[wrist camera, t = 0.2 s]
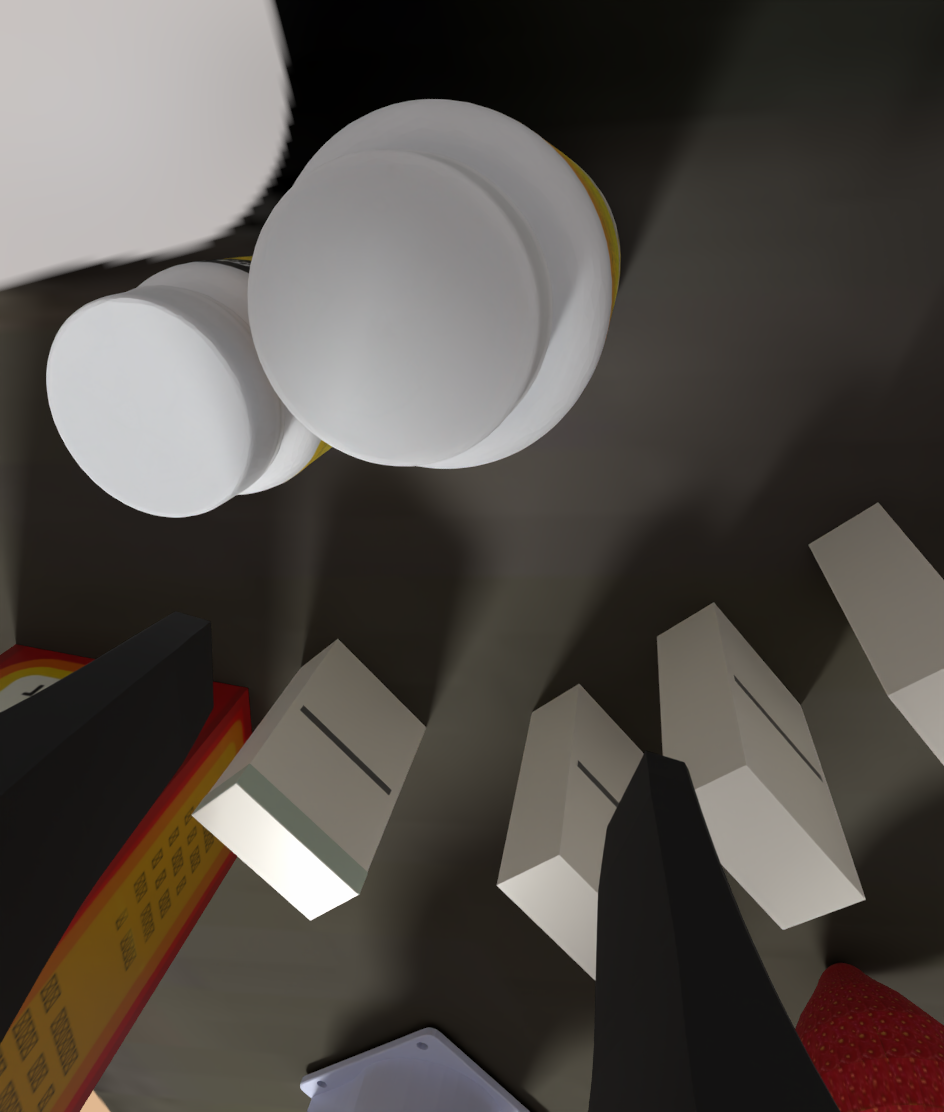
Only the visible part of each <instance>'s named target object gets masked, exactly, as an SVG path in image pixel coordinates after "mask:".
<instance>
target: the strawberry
mask: <svg viewBox="0 0 944 1112" xmlns="http://www.w3.org/2000/svg"><path fill="white" fill-rule="evenodd" d="M795 1030H796V1032H797V1034H798V1036H799V1037H800V1039H801V1041H802V1043H803V1045H804V1047H805V1049H806V1051H807V1053H808V1054H809V1056H810V1058H811V1060H812V1062H813V1064H814V1065H815V1067H816V1069H817V1071H818V1073H819V1074H820V1076H821V1078H822V1080H823V1081H824V1083H825V1085H826V1087H827V1088H828V1090H829V1092H830V1094H831V1096H832V1097H833V1099H834V1101H835V1103H836V1104H837V1106H838V1108H839V1110H840V1111H841V1112H944V1025H942V1024H941V1023H939V1022H938V1021H937V1020H935V1019H934V1018H933V1017H931V1016H930V1015H929V1014H927V1013H926V1012H924V1011H923V1010H922V1009H920V1008H919V1007H918V1006H916V1005H915V1004H913V1003H912V1002H911V1001H909V1000H908V999H907V998H905V997H904V996H903V995H901V994H900V993H898V992H897V991H895V990H893V989H891V988H889V987H887V986H885V985H883V984H881V983H879V982H877V981H875V980H873V979H872V978H870V977H869V976H867V975H865V974H864V973H863V972H862V971H861V970H859V969H858V968H856V967H855V966H853V965H850V964H846V963H836V964H833V965H831V966H830V967H828V968H827V969H826V970H825V971H824V972H823V974H822V975H821V977H820V979H819V982H818V985H817V987H816V989H815V991H814V993H813V995H812V996H811V998H810V1000H809V1002H808V1003H807V1005H806V1007H805V1008H804V1010H803V1012H802V1014H801V1016H800V1018H799V1021H798V1024H797V1026H796V1029H795Z"/></svg>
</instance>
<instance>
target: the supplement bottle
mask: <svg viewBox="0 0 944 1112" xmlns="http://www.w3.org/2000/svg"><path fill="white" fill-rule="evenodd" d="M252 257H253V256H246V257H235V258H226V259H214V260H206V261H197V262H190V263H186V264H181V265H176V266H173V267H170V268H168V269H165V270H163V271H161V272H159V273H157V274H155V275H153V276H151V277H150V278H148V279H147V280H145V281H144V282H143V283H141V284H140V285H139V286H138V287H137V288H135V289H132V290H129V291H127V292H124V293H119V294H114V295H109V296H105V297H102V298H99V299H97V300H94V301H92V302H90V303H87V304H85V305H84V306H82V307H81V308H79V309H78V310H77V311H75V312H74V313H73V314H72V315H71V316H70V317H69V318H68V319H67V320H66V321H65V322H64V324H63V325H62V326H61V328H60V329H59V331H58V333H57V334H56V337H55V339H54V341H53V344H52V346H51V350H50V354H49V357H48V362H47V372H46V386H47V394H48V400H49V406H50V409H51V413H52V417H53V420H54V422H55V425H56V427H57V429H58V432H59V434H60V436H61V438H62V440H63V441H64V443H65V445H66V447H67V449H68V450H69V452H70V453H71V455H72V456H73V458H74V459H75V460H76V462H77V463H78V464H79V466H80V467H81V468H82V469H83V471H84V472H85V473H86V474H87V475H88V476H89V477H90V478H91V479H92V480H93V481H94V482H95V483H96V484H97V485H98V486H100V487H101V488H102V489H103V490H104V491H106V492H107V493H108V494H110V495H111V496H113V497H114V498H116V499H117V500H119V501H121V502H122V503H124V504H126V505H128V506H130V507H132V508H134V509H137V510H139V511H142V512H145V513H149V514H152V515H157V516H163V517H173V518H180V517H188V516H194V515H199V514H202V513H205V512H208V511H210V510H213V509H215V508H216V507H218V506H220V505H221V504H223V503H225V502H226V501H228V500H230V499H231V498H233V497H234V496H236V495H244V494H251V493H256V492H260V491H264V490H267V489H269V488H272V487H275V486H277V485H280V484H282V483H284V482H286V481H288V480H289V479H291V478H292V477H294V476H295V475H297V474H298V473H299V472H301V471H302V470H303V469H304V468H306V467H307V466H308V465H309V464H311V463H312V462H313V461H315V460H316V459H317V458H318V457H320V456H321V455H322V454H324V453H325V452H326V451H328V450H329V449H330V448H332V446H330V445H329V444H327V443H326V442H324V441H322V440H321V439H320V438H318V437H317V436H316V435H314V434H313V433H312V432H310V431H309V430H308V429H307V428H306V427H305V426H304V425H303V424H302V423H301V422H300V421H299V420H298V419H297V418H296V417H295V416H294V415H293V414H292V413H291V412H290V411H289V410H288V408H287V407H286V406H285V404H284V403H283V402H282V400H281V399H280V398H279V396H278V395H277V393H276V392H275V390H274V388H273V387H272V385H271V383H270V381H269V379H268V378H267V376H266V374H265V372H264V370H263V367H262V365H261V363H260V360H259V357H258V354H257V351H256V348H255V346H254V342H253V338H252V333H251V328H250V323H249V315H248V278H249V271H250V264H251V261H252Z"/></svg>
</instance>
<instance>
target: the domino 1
mask: <svg viewBox="0 0 944 1112" xmlns="http://www.w3.org/2000/svg"><path fill="white" fill-rule="evenodd" d="M643 755H644V753H643V752H642V751H641V750H640V749H639V748H638V747H637V746H636V745H635V744H634V742H633V741H632V740H631V739H630V738H629V737H628V736H627V735H626V734H625V733H624V732H623V731H622V729H621V728H620V727H619V726H618V725H617V724H616V723H615V722H614V721H613V720H612V719H611V718H610V716H609V715H608V714H607V713H606V712H605V711H604V710H603V709H602V708H601V707H600V706H599V705H598V703H597V702H596V701H595V700H594V699H593V698H592V697H591V696H590V695H589V694H588V693H587V691H586V690H585V689H584V688H583V687H582V686H581V685H580V684H578V685H576V686H574V687H573V688H571V689H570V690H568V691H566V692H565V693H563V694H561V695H560V696H558V697H556V698H555V699H553V700H551V701H550V702H548V703H547V704H545V705H543V706H542V707H540V708H538V709H537V710H535V711H533V712H532V715H531V720H530V725H529V730H528V734H527V739H526V744H525V749H524V754H523V759H522V764H521V769H520V774H519V778H518V783H517V788H516V793H515V798H514V803H513V808H512V813H511V818H510V822H509V827H508V832H507V837H506V842H505V847H504V852H503V857H502V862H501V866H500V871H499V876H498V881H497V886H498V887H499V888H500V889H501V890H502V891H503V892H504V893H505V894H506V895H507V896H508V897H509V898H510V899H511V900H512V901H513V902H514V903H515V904H516V905H517V906H518V907H520V908H521V909H522V910H523V911H524V912H525V913H526V914H527V915H528V916H529V917H530V918H531V919H532V920H533V921H534V922H535V923H536V924H537V925H538V926H539V927H540V928H541V929H542V930H543V931H544V932H545V933H546V934H547V935H548V936H549V937H551V938H552V939H553V940H554V941H555V942H556V943H557V944H558V945H559V946H560V947H561V948H562V949H563V950H564V951H565V952H566V953H567V954H568V955H569V956H570V957H571V958H572V959H573V960H574V961H575V962H576V963H577V964H578V965H579V966H581V967H582V968H583V969H584V970H585V971H586V972H587V973H588V974H589V975H590V976H591V977H592V978H593V979H594V980H595V981H596V944H597V908H598V888H599V880H600V872H601V865H602V858H603V851H604V844H605V837H606V830H607V826H608V824H609V822H610V820H611V818H612V816H613V814H614V812H615V810H616V808H617V806H618V804H619V802H620V800H621V798H622V796H623V794H624V792H625V790H626V788H627V786H628V784H629V783H630V781H631V779H632V777H633V775H634V773H635V771H636V769H637V767H638V765H639V763H640V761H641V759H642V757H643Z"/></svg>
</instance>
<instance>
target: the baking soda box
mask: <svg viewBox="0 0 944 1112" xmlns="http://www.w3.org/2000/svg"><path fill="white" fill-rule="evenodd" d="M93 660H95V659H91V658H86V657H81V656H75V655H70V654H65V653H59V652H54V651H49V650H43V649H38V648H33V647H27V646H22V645H17V644H16V645H14V646H13V647H11V648H10V649H8V650H7V651H6V652H4V653H3V654H1V655H0V712H2V711H4V710H6V709H8V708H10V707H12V706H13V705H15V704H17V703H19V702H21V701H23V700H25V699H27V698H29V697H30V696H32V695H34V694H36V693H38V692H40V691H41V690H43V689H45V688H47V687H49V686H50V685H52V684H54V683H55V682H57V681H59V680H61V679H62V678H64V677H66V676H68V675H69V674H71V673H73V672H74V671H76V670H78V669H80V668H81V667H83V666H85V665H87V664H88V663H90V662H92V661H93ZM213 700H214V708H213V710H212V712H211V713H210V715H209V717H208V719H207V721H206V723H205V725H204V726H203V728H202V730H201V732H200V734H199V736H198V738H197V739H196V741H195V743H194V745H193V746H192V748H191V750H190V752H189V753H188V755H187V757H186V759H185V760H184V762H183V764H182V765H181V766H180V768H179V769H178V771H177V772H176V773H175V775H174V776H173V778H172V779H171V780H170V782H169V783H168V785H167V786H166V787H165V789H164V790H163V792H162V793H161V794H160V796H159V797H158V799H157V800H156V801H155V803H154V804H153V806H152V807H151V808H150V810H149V811H148V812H147V814H146V815H145V817H144V818H143V819H142V821H141V822H140V823H139V825H138V826H137V828H136V829H135V830H134V832H133V833H132V834H131V836H130V837H129V839H128V840H127V841H126V843H125V844H124V845H123V847H122V848H121V850H120V851H119V852H118V854H117V855H116V856H115V858H114V859H113V861H112V862H111V863H110V865H109V866H108V867H107V869H106V870H105V872H104V873H103V874H102V876H101V877H100V878H99V880H98V881H97V883H96V884H95V886H94V887H93V889H92V890H91V892H90V893H89V895H88V896H87V898H86V899H85V901H84V902H83V904H82V905H81V906H80V908H79V910H78V911H77V913H76V915H75V916H74V918H73V920H72V921H71V923H70V925H69V926H68V928H67V930H66V931H65V933H64V935H63V936H62V938H61V940H60V941H59V943H58V945H57V946H56V948H55V950H54V951H53V953H52V955H51V956H50V958H49V960H48V962H47V963H46V965H45V967H44V968H43V970H42V972H41V973H40V975H39V977H38V979H37V980H36V982H35V984H34V986H33V987H32V989H31V991H30V993H29V995H28V996H27V998H26V1000H25V1002H24V1003H23V1005H22V1007H21V1009H20V1010H19V1012H18V1014H17V1016H16V1017H15V1019H14V1021H13V1023H12V1024H11V1026H10V1028H9V1030H8V1031H7V1033H6V1035H5V1037H4V1039H3V1041H2V1042H1V1044H0V1112H80V1110H81V1108H82V1107H83V1105H84V1104H85V1102H86V1100H87V1099H88V1097H89V1096H90V1094H91V1092H92V1091H93V1089H94V1088H95V1086H96V1084H97V1083H98V1081H99V1079H100V1078H101V1076H102V1075H103V1073H104V1071H105V1070H106V1068H107V1067H108V1065H109V1063H110V1062H111V1060H112V1058H113V1057H114V1055H115V1054H116V1052H117V1050H118V1049H119V1047H120V1046H121V1044H122V1042H123V1041H124V1039H125V1037H126V1036H127V1034H128V1033H129V1031H130V1029H131V1028H132V1026H133V1024H134V1023H135V1021H136V1020H137V1018H138V1016H139V1015H140V1013H141V1012H142V1010H143V1008H144V1007H145V1005H146V1003H147V1002H148V1000H149V999H150V997H151V995H152V994H153V992H154V991H155V989H156V987H157V986H158V984H159V982H160V981H161V979H162V978H163V976H164V974H165V973H166V971H167V969H168V968H169V966H170V965H171V963H172V961H173V960H174V958H175V957H176V955H177V953H178V952H179V950H180V948H181V947H182V945H183V944H184V942H185V940H186V939H187V937H188V936H189V934H190V932H191V931H192V929H193V927H194V926H195V924H196V923H197V921H198V919H199V918H200V916H201V914H202V913H203V911H204V910H205V908H206V906H207V905H208V903H209V902H210V900H211V898H212V897H213V895H214V893H215V892H216V890H217V889H218V887H219V885H220V884H221V882H222V881H223V879H224V877H225V876H226V874H227V872H228V871H229V869H230V868H231V866H232V864H233V863H234V861H235V859H236V858H237V855H236V854H235V853H233V852H232V851H231V850H230V849H229V848H228V847H227V846H226V845H224V844H223V843H222V842H221V841H220V840H219V839H218V838H217V837H215V836H214V835H213V834H212V833H211V832H210V831H209V830H207V829H206V828H205V827H204V826H203V825H202V824H201V823H200V822H198V821H197V820H196V819H195V818H194V817H193V816H192V815H191V814H192V813H193V812H194V810H195V809H196V808H197V806H198V805H199V804H200V802H201V801H202V799H203V798H204V797H205V796H206V795H207V794H208V793H209V791H210V790H211V789H212V787H213V786H214V785H215V783H216V782H217V781H218V779H219V778H220V777H221V775H222V774H223V772H224V771H225V770H226V768H227V767H228V766H229V764H230V763H231V762H232V760H233V759H234V758H235V756H236V755H237V753H238V752H239V751H240V749H241V748H242V747H243V745H244V744H245V743H246V741H247V740H248V739H249V737H250V736H251V734H252V728H251V716H250V704H249V692H248V688H246V687H240V686H235V685H230V684H224V683H219V682H214V681H213Z"/></svg>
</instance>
